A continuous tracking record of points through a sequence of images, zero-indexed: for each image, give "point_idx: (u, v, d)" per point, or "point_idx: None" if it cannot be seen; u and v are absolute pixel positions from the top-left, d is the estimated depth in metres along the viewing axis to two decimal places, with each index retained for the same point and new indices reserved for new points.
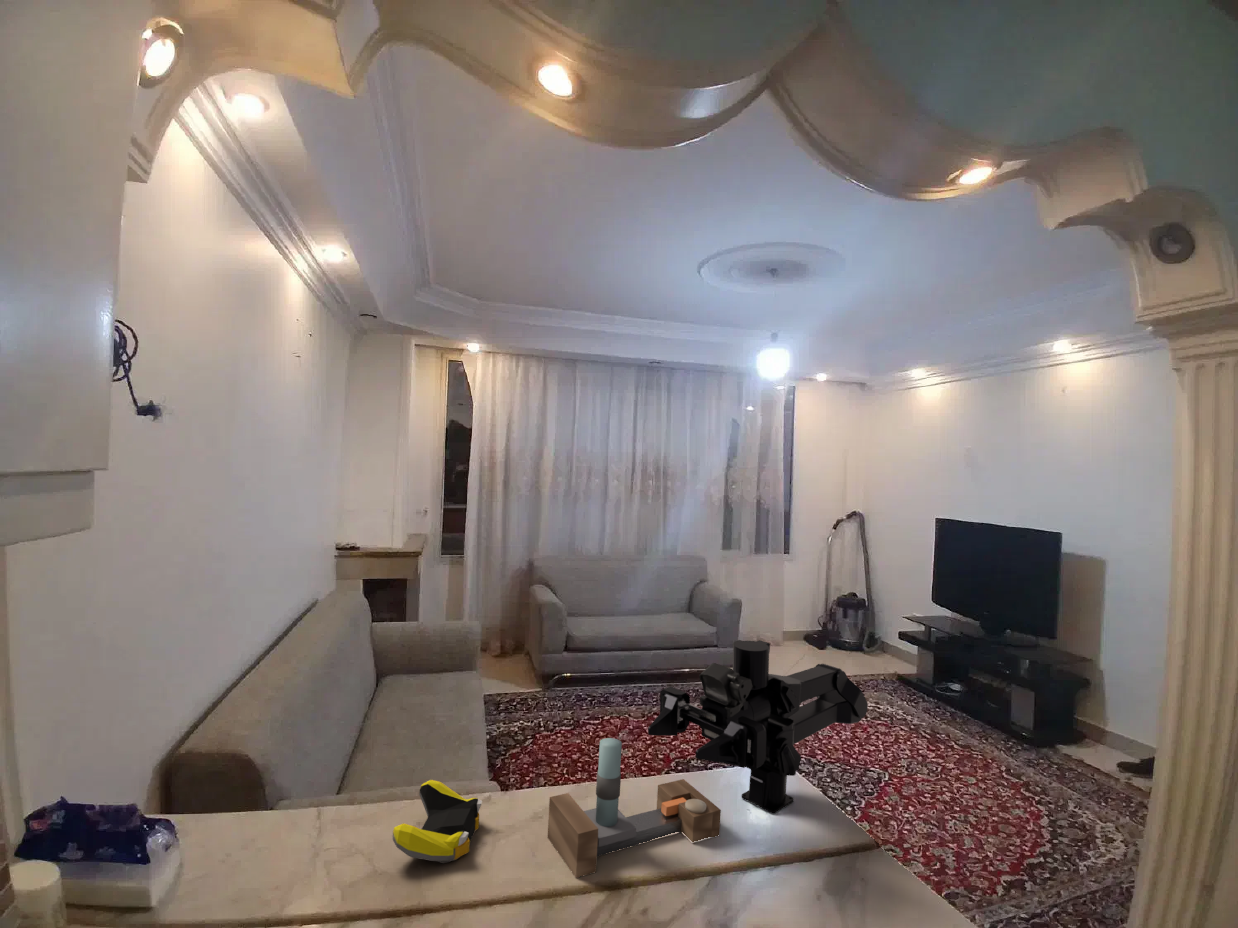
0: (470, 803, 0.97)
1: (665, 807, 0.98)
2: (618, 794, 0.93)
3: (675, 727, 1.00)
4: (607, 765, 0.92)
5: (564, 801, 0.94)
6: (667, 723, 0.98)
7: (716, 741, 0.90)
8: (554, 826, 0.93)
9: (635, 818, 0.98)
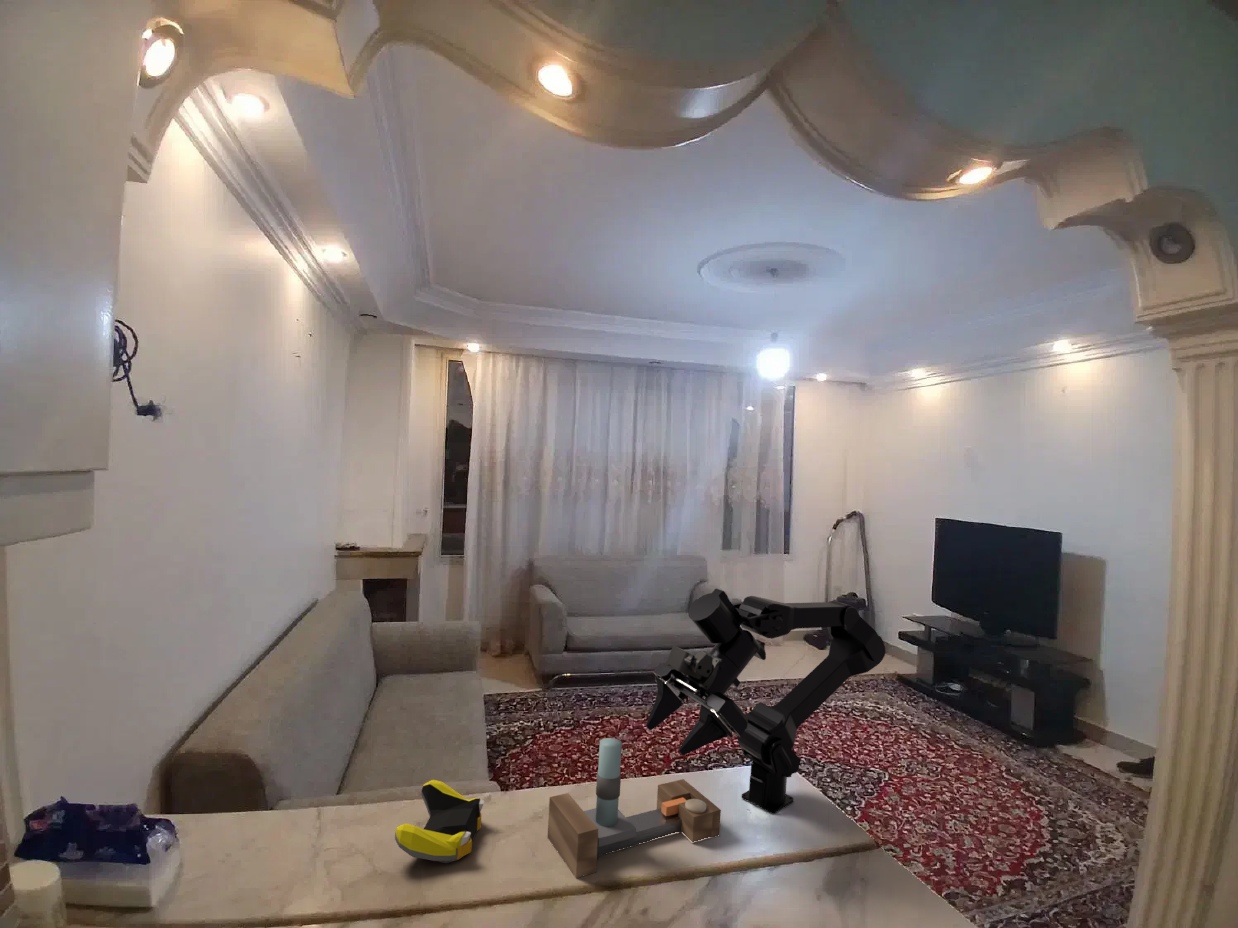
0: (472, 802, 0.97)
1: (665, 807, 0.98)
2: (618, 794, 0.93)
3: (677, 701, 1.05)
4: (607, 765, 0.92)
5: (564, 801, 0.94)
6: (664, 707, 1.04)
7: (693, 732, 0.94)
8: (554, 826, 0.93)
9: (635, 818, 0.98)
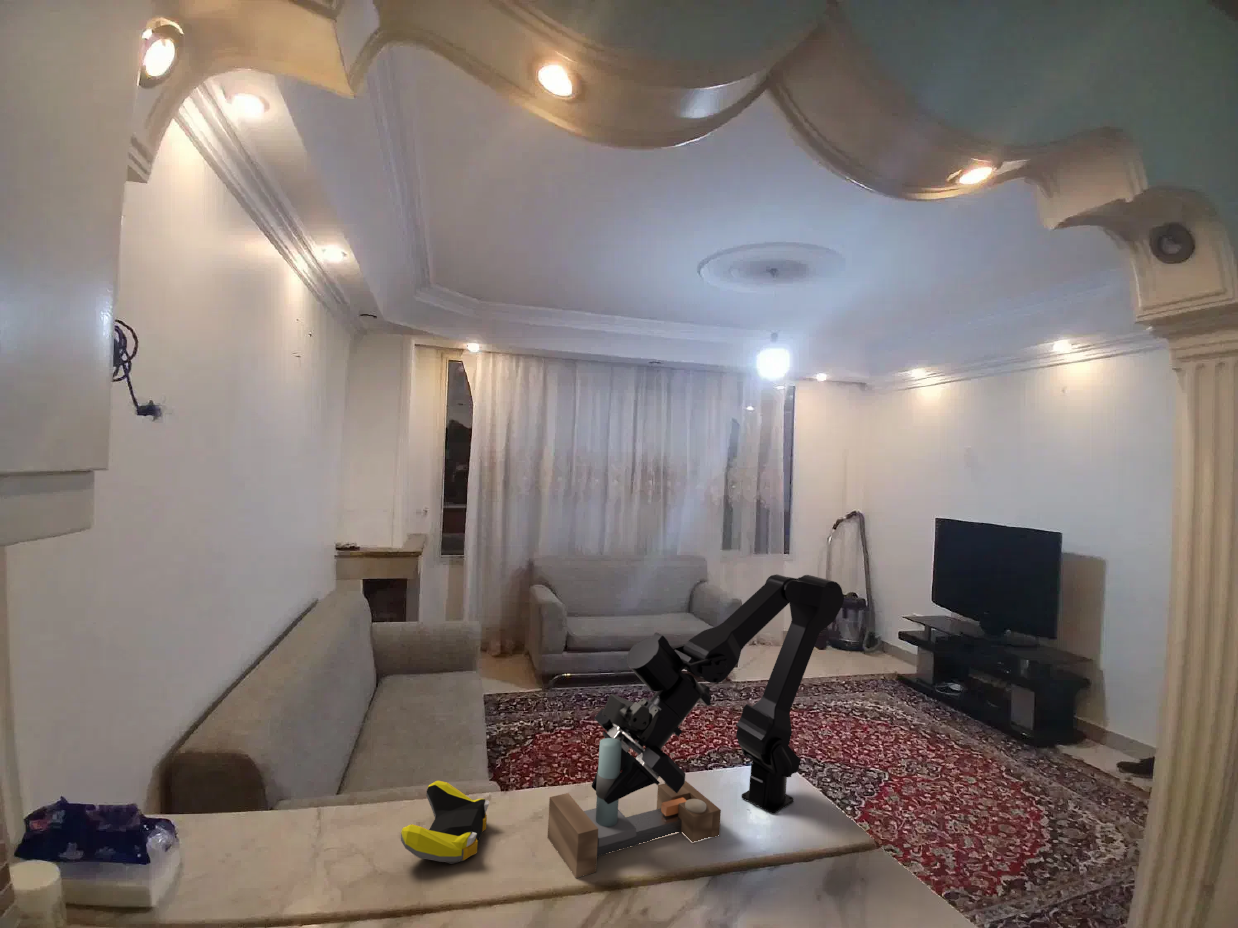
0: (478, 803, 0.97)
1: (665, 807, 0.98)
2: None
3: (626, 757, 0.98)
4: (607, 765, 0.92)
5: (564, 801, 0.94)
6: None
7: (618, 780, 0.92)
8: (554, 826, 0.93)
9: (635, 818, 0.98)
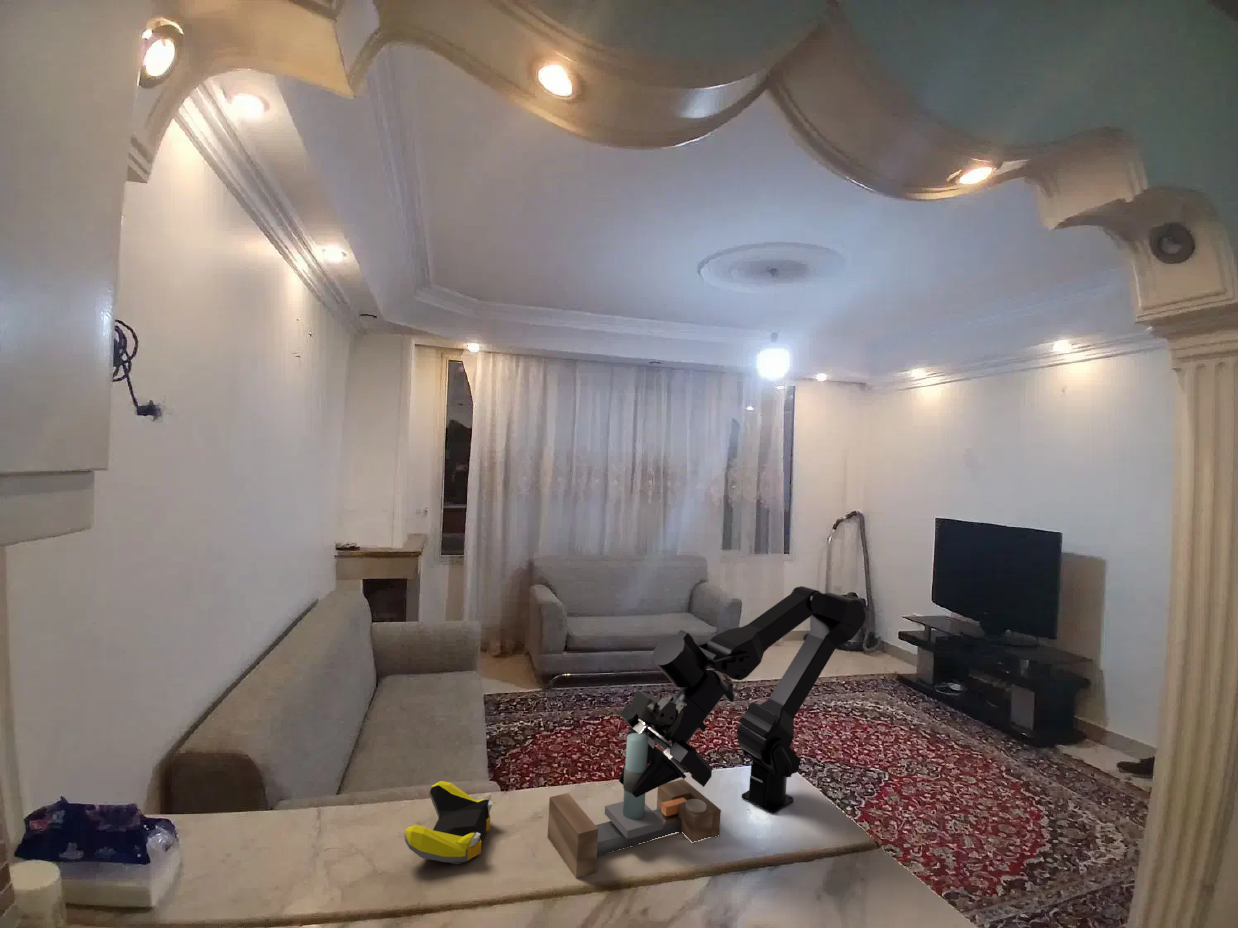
0: (481, 803, 0.97)
1: (665, 807, 0.98)
2: None
3: (652, 752, 1.00)
4: (634, 759, 0.95)
5: (564, 801, 0.94)
6: None
7: (646, 774, 0.94)
8: (554, 826, 0.93)
9: None
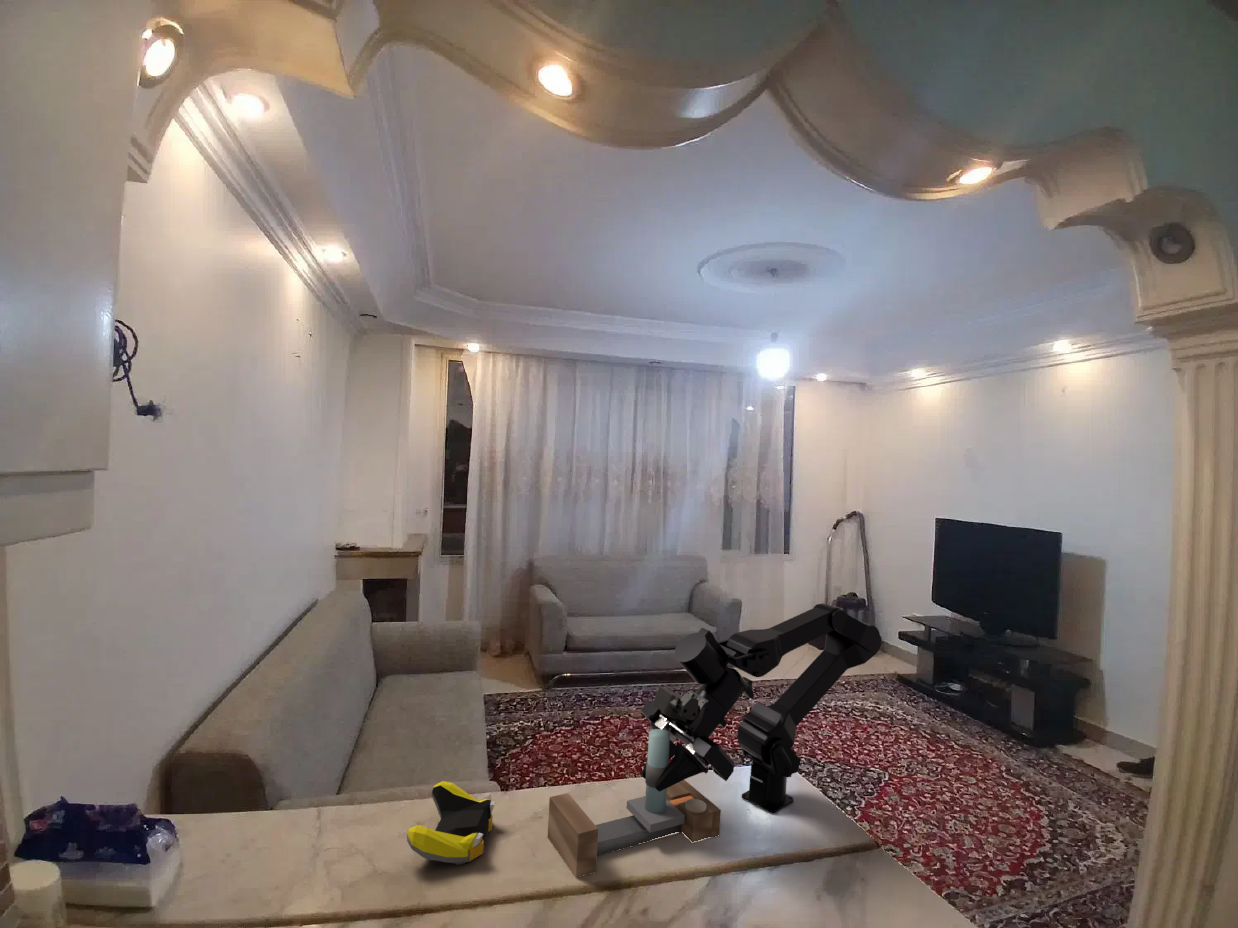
0: (483, 804, 0.97)
1: None
2: None
3: (673, 747, 1.02)
4: (657, 754, 0.96)
5: (564, 801, 0.94)
6: None
7: (669, 769, 0.96)
8: (554, 826, 0.93)
9: (635, 818, 0.98)
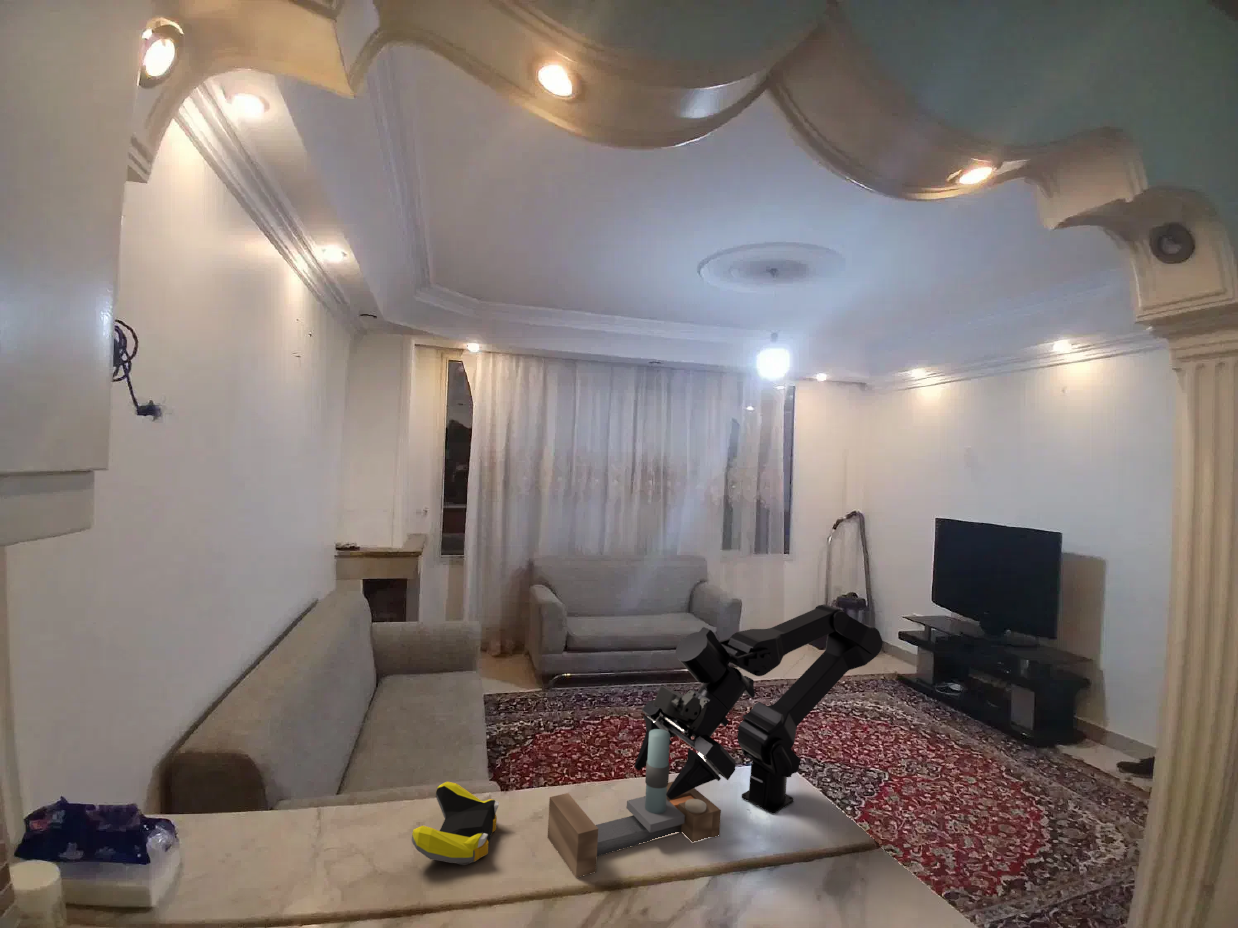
0: (488, 804, 0.97)
1: None
2: (667, 783, 0.97)
3: None
4: (657, 754, 0.96)
5: (564, 801, 0.94)
6: None
7: (681, 776, 0.94)
8: (554, 826, 0.93)
9: (635, 818, 0.98)
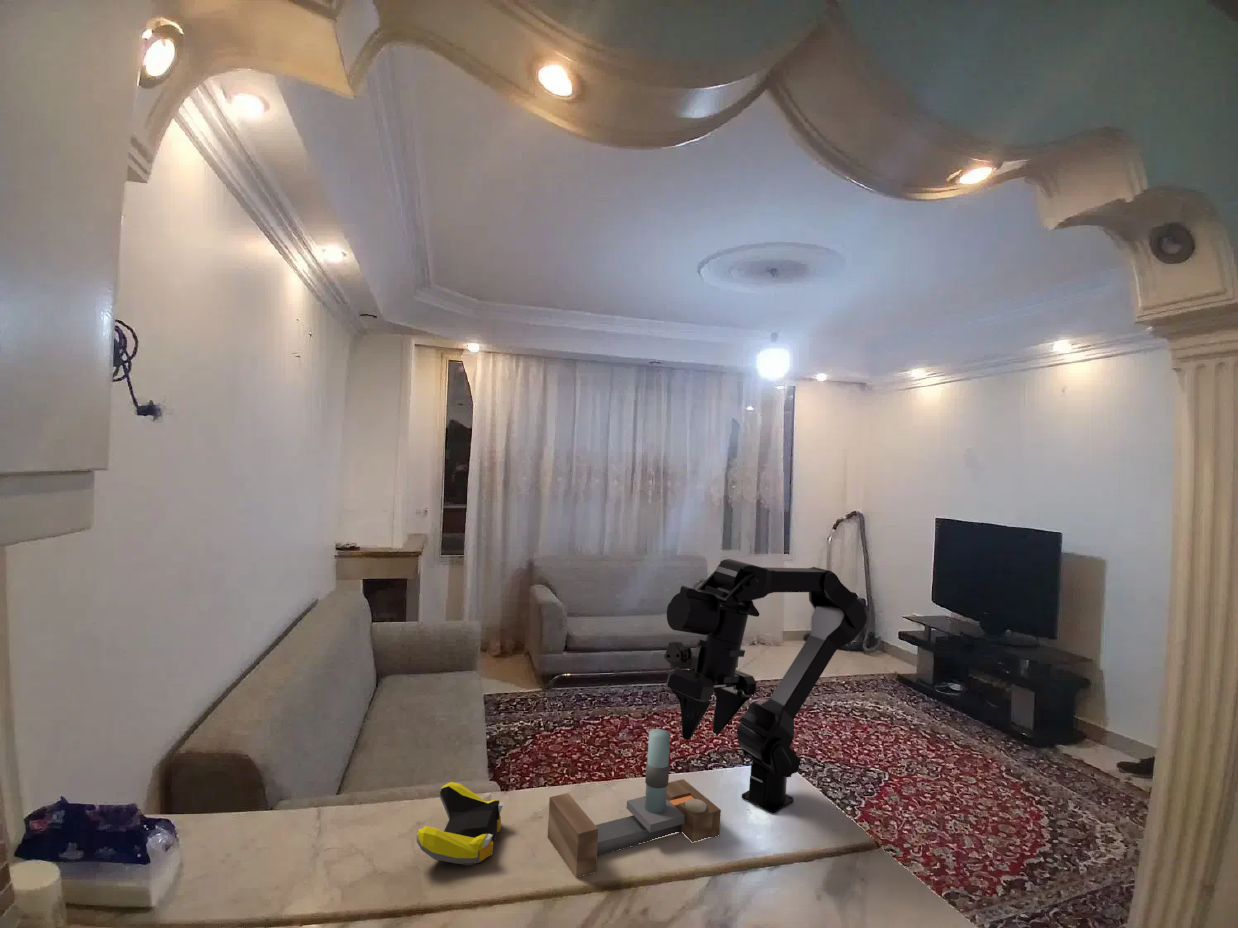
0: (492, 805, 0.97)
1: None
2: (667, 783, 0.97)
3: (734, 697, 1.05)
4: (657, 754, 0.96)
5: (564, 801, 0.94)
6: (723, 708, 1.06)
7: None
8: (554, 826, 0.93)
9: (635, 818, 0.98)
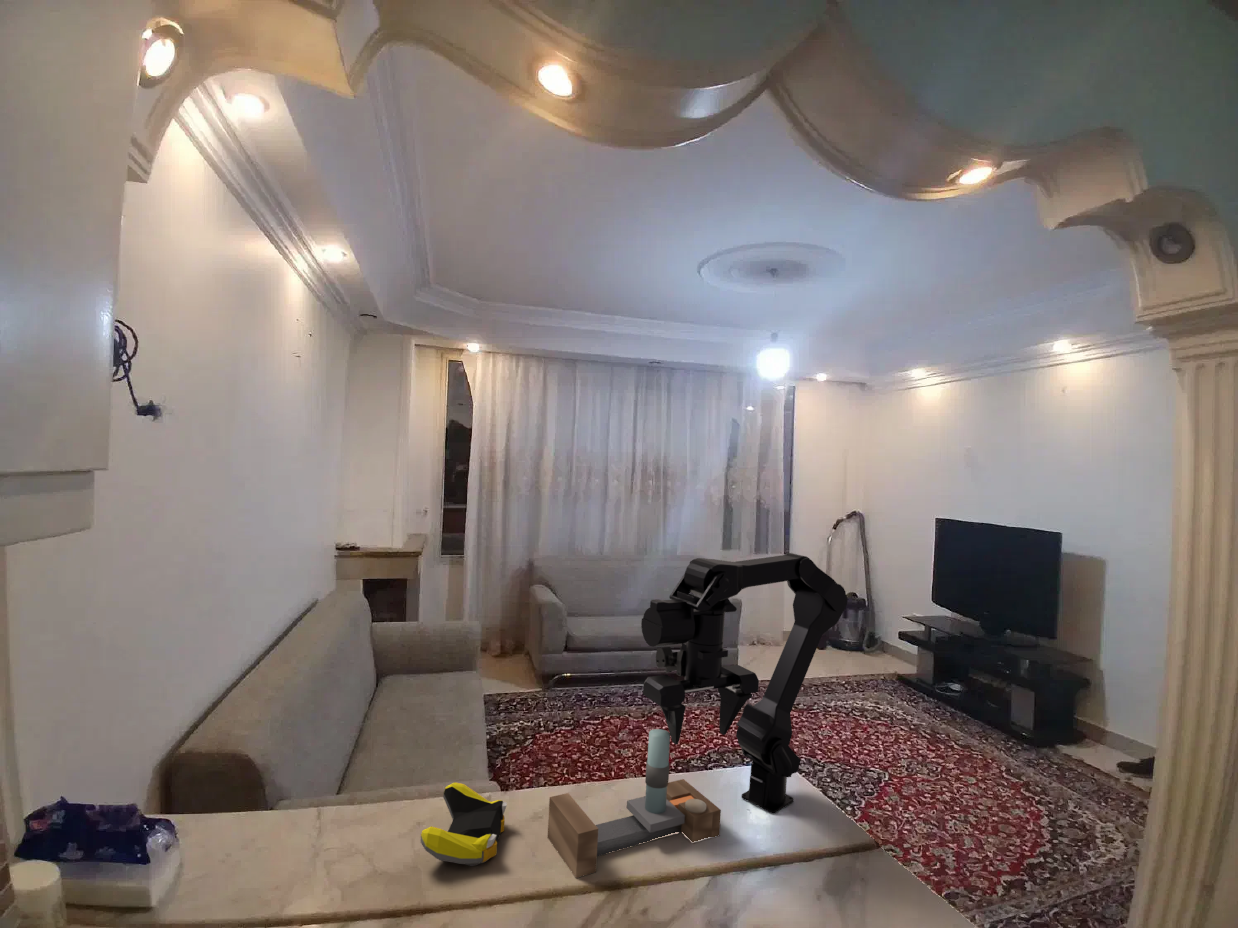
0: (495, 805, 0.97)
1: None
2: (667, 783, 0.97)
3: (733, 697, 1.03)
4: (657, 754, 0.96)
5: (564, 801, 0.94)
6: (725, 707, 1.04)
7: None
8: (554, 826, 0.93)
9: (635, 818, 0.98)
